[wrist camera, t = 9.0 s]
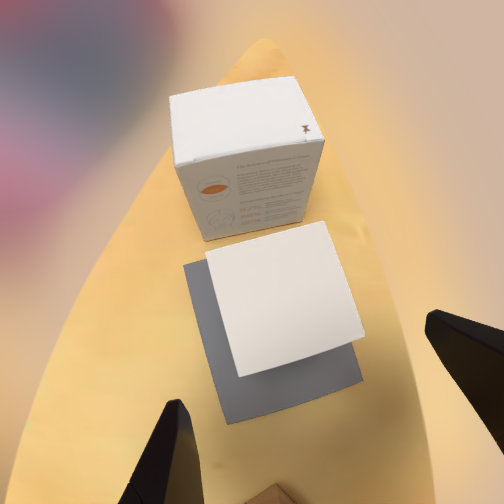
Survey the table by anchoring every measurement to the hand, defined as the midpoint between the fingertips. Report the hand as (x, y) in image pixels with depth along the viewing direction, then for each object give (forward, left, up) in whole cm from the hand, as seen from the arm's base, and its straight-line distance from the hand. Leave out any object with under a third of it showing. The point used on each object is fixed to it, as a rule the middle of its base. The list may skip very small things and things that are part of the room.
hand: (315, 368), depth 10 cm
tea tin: (+3, 0, -12) cm, 12 cm away
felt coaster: (+3, 0, -13) cm, 13 cm away
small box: (+13, -1, -13) cm, 18 cm away
